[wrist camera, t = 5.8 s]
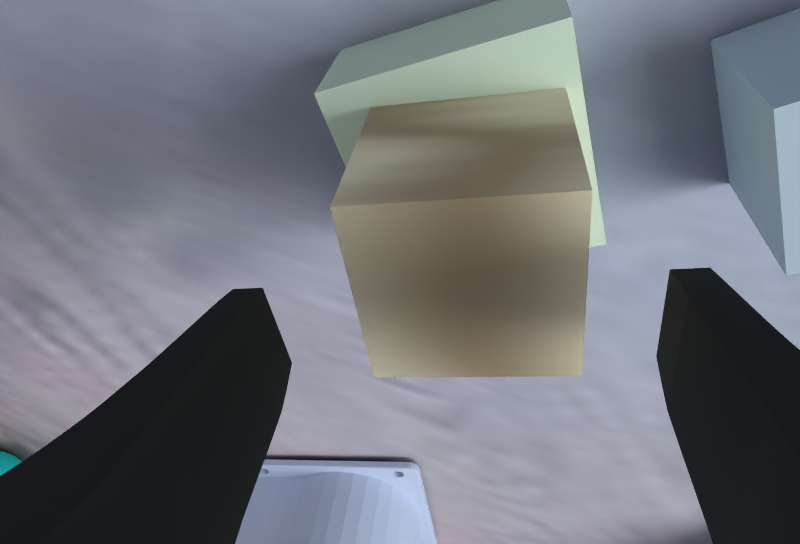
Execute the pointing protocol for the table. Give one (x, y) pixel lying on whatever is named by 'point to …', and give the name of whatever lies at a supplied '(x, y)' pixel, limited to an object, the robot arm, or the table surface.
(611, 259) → the table surface
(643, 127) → the table surface
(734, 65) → the slate cube
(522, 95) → the beech cube
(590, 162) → the pale green block
